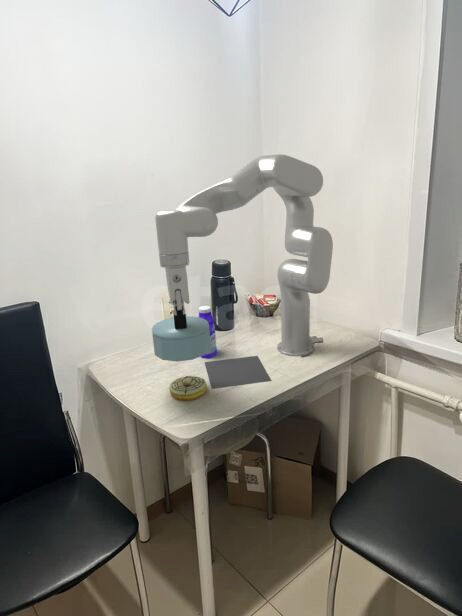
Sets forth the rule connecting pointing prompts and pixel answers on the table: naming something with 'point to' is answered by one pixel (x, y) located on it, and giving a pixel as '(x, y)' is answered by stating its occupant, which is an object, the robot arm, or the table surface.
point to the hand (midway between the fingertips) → (180, 325)
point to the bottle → (206, 314)
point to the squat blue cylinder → (181, 339)
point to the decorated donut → (188, 388)
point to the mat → (236, 372)
